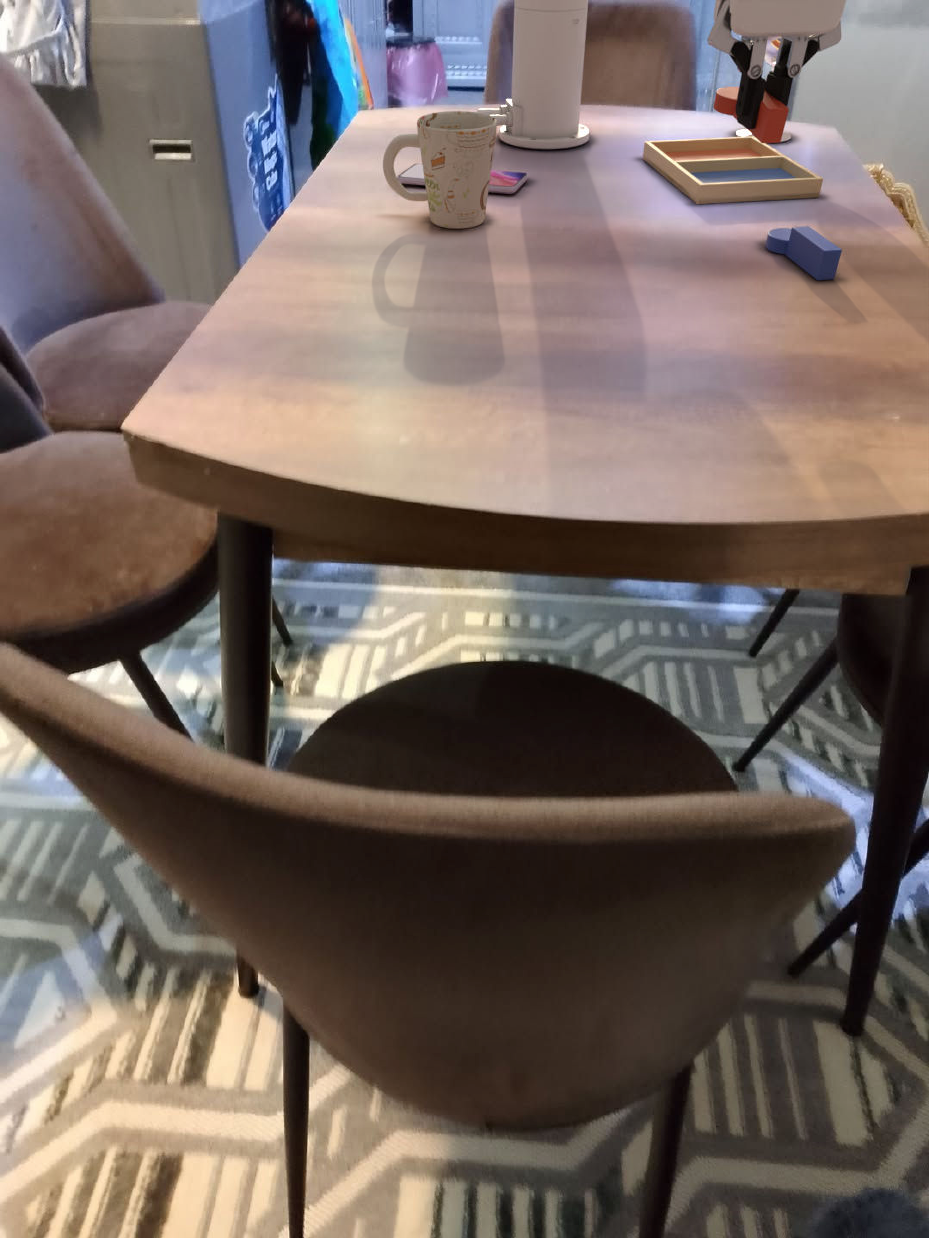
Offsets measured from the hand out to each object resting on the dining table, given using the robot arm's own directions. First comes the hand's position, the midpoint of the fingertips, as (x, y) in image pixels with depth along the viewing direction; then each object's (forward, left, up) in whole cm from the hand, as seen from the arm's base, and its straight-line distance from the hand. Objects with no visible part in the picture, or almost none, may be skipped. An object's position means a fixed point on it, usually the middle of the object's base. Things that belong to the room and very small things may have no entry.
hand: (757, 123), depth 83 cm
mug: (-27, +18, -13) cm, 35 cm away
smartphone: (-22, +31, -13) cm, 40 cm away
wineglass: (+24, +46, -13) cm, 54 cm away
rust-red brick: (0, +2, 0) cm, 2 cm away
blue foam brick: (+7, -1, -13) cm, 14 cm away
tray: (+11, +28, -13) cm, 33 cm away
